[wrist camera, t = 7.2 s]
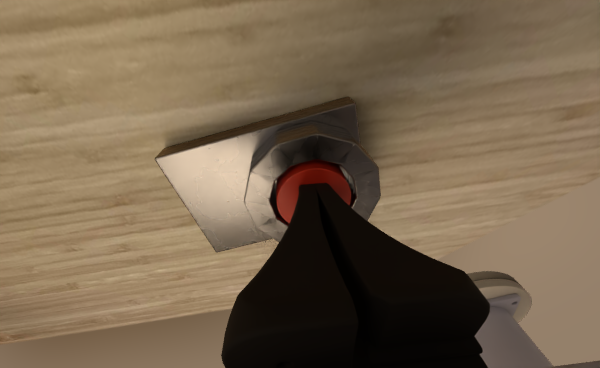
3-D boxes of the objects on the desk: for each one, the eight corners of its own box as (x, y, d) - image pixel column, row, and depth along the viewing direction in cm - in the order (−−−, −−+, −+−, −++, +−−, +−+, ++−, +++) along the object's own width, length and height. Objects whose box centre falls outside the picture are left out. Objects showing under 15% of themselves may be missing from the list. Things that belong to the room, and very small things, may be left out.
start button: (336, 143, 12) (345, 159, 10) (347, 199, 14) (355, 219, 12) (267, 162, 12) (266, 180, 11) (287, 215, 14) (288, 236, 13)
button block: (353, 94, 12) (374, 111, 10) (366, 201, 16) (383, 233, 13) (164, 147, 13) (136, 176, 10) (220, 238, 16) (210, 275, 14)
